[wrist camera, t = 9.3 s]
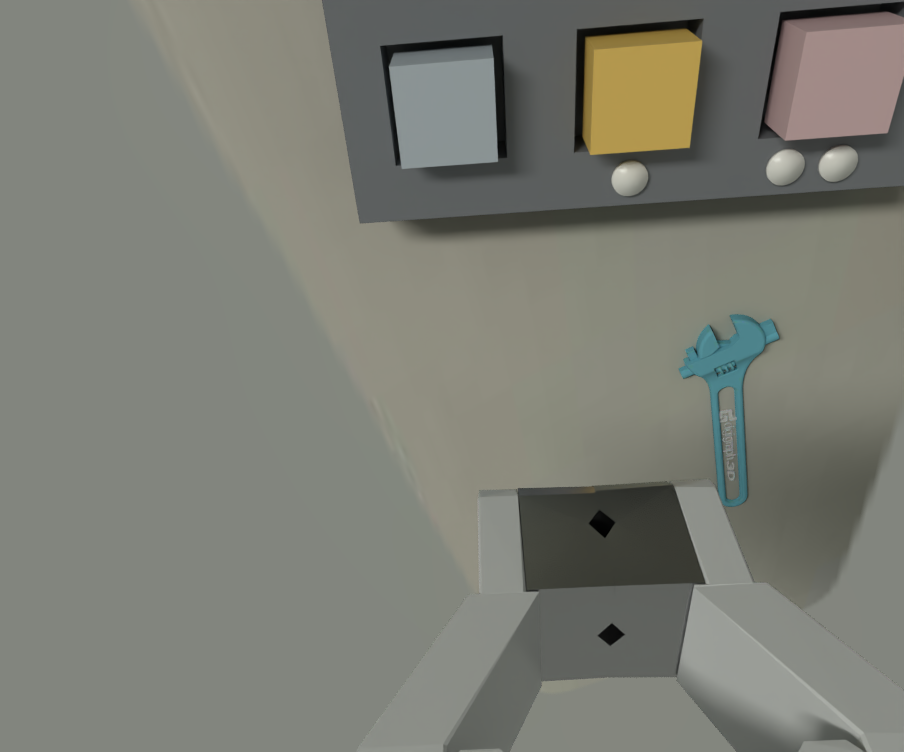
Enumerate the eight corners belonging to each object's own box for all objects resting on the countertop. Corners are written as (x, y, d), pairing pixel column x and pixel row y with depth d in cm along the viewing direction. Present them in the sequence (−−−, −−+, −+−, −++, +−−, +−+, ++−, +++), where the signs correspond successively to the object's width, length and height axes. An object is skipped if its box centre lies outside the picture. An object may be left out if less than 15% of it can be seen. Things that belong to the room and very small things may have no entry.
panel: (367, 195, 32) (359, 225, 29) (331, -34, 26) (317, -22, 24) (872, 159, 30) (909, 187, 28) (940, -90, 25) (995, -84, 22)
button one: (582, 136, 28) (590, 155, 26) (584, 36, 26) (593, 49, 24) (675, 129, 27) (689, 147, 26) (685, 27, 25) (702, 40, 24)
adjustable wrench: (677, 333, 35) (781, 311, 34) (672, 322, 36) (774, 301, 35) (696, 519, 43) (781, 505, 42) (692, 507, 44) (776, 493, 43)
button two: (764, 122, 27) (785, 140, 25) (782, 19, 25) (806, 32, 23) (860, 115, 27) (887, 133, 25) (886, 11, 25) (918, 23, 23)
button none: (405, 149, 28) (401, 169, 26) (394, 52, 26) (388, 66, 24) (495, 142, 28) (498, 161, 26) (491, 44, 26) (493, 57, 24)
